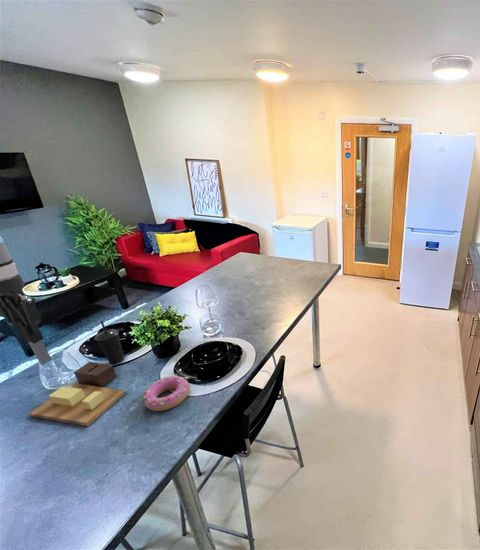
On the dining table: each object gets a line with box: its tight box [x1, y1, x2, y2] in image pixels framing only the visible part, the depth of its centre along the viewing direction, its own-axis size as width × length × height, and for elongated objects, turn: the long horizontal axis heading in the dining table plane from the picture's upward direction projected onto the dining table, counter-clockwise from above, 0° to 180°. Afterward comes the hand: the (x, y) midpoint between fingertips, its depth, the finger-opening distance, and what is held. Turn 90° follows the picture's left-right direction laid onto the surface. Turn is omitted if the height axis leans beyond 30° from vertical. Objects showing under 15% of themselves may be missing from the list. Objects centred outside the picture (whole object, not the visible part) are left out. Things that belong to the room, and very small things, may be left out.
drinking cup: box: [94, 320, 125, 365], centre depth 120 cm, size 8×8×20 cm
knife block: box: [73, 361, 117, 388], centre depth 113 cm, size 10×6×6 cm, turn 82°
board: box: [29, 382, 126, 427], centre depth 103 cm, size 22×14×2 cm, turn 82°
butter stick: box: [48, 385, 85, 406], centre depth 103 cm, size 8×5×4 cm, turn 82°
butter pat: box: [82, 391, 104, 410], centre depth 102 cm, size 3×5×4 cm, turn 172°
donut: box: [141, 375, 190, 412], centre depth 107 cm, size 14×14×5 cm
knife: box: [16, 319, 53, 366], centre depth 98 cm, size 2×3×18 cm
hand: (34, 340), depth 97 cm, fingers closed on knife, 2 cm apart
